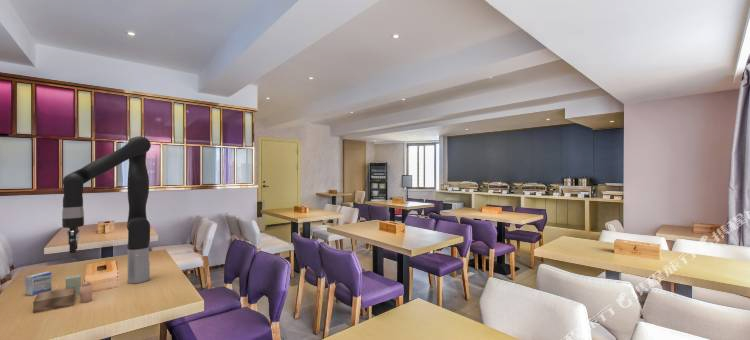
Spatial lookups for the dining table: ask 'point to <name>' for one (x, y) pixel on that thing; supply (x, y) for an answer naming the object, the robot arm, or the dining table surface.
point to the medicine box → (38, 283)
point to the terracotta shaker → (85, 292)
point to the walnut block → (54, 300)
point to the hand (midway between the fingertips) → (73, 251)
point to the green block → (74, 283)
